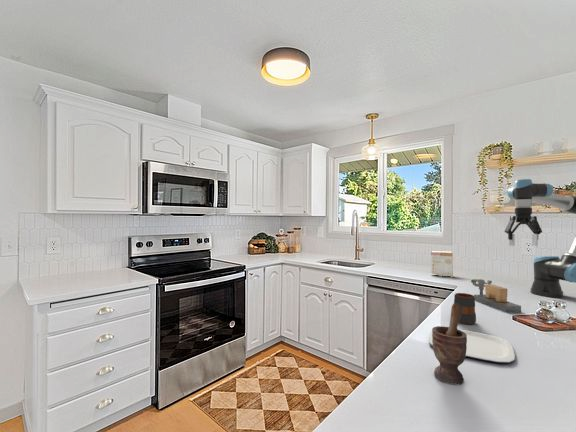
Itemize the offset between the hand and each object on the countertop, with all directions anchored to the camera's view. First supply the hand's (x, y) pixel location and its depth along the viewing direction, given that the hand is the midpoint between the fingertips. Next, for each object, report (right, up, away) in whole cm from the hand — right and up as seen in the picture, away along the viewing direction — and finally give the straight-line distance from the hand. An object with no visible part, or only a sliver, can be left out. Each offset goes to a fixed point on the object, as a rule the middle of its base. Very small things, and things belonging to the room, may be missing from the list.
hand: (523, 245), depth 165 cm
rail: (-22, -30, -9) cm, 38 cm away
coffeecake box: (-7, -32, +73) cm, 80 cm away
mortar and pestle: (-84, -30, -79) cm, 119 cm away
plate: (-66, -30, -59) cm, 93 cm away
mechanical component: (-18, -31, +8) cm, 37 cm away
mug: (-52, -30, -33) cm, 68 cm away
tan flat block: (-21, -31, -9) cm, 38 cm away
